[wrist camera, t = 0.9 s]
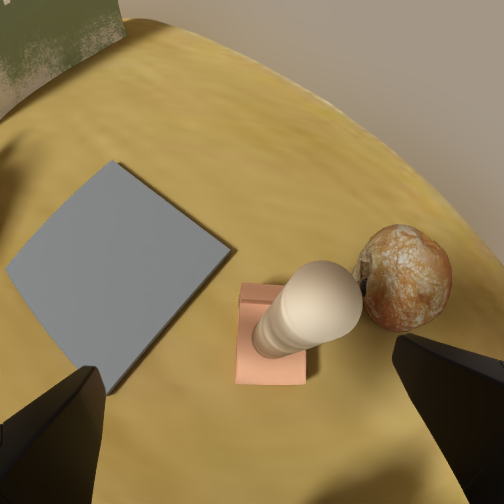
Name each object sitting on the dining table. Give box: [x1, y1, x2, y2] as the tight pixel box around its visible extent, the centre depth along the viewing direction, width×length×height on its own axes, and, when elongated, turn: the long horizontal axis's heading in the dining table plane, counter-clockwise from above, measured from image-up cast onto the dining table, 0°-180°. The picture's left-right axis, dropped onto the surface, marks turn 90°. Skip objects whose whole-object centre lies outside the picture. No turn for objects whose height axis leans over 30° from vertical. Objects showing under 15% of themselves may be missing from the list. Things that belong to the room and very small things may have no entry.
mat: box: [5, 160, 230, 396], centre depth 23 cm, size 16×16×1 cm
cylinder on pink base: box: [235, 261, 363, 385], centre depth 17 cm, size 7×5×13 cm
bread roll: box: [353, 224, 452, 332], centre depth 25 cm, size 10×10×8 cm
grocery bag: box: [0, 0, 127, 120], centre depth 25 cm, size 32×14×23 cm, turn 145°
